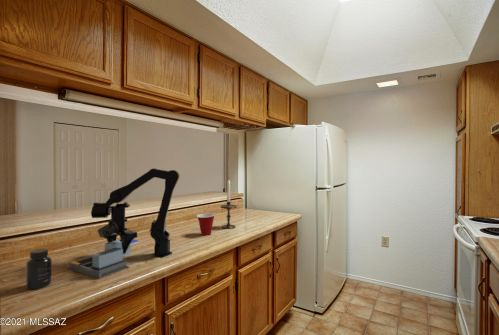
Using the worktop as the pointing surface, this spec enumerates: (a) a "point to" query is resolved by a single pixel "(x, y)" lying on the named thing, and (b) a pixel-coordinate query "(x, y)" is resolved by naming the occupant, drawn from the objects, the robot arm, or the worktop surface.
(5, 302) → the worktop surface
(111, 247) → the pale grey block
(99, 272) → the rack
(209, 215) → the plastic cup
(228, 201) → the candlestick
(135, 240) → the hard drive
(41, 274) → the supplement bottle
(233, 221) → the worktop surface
